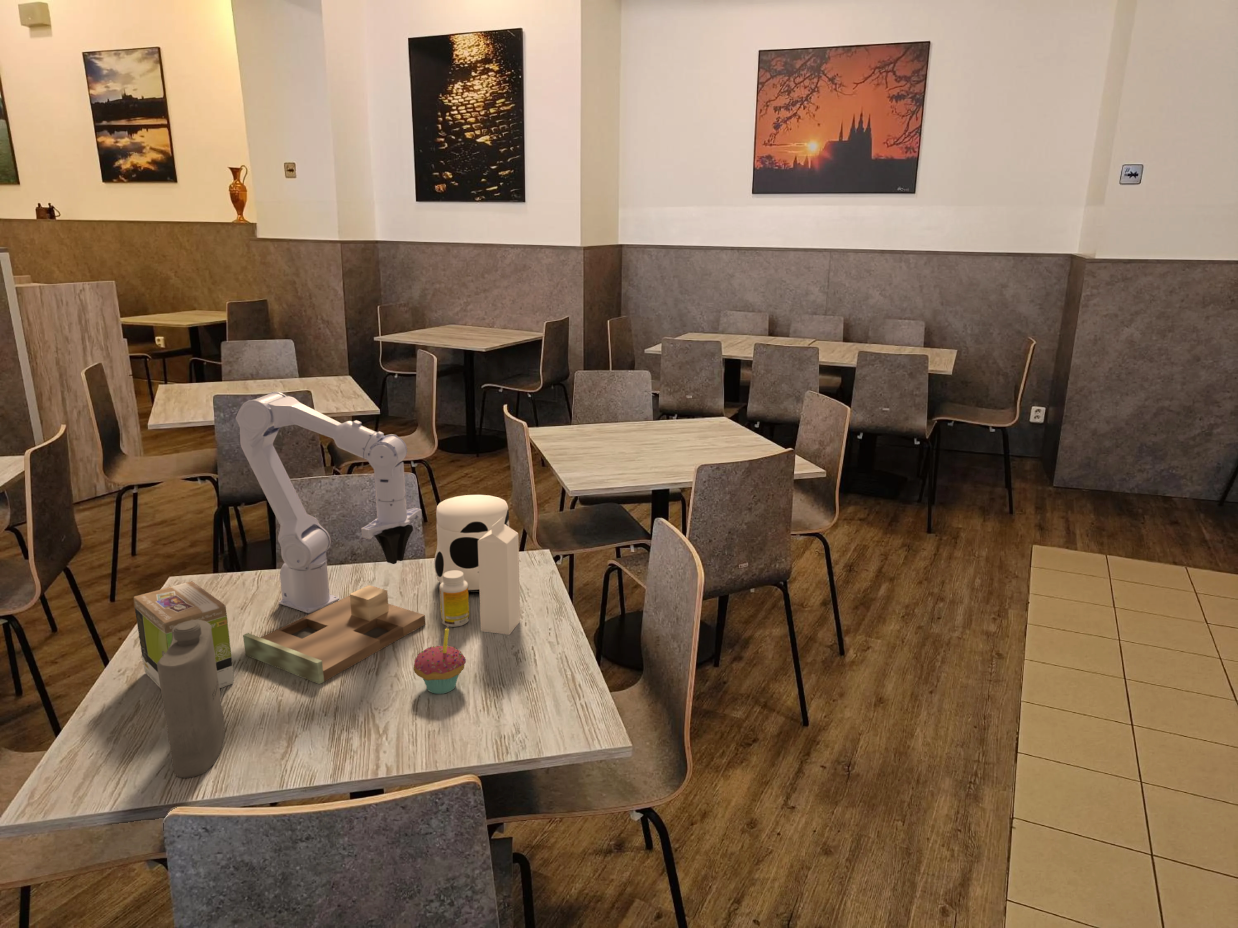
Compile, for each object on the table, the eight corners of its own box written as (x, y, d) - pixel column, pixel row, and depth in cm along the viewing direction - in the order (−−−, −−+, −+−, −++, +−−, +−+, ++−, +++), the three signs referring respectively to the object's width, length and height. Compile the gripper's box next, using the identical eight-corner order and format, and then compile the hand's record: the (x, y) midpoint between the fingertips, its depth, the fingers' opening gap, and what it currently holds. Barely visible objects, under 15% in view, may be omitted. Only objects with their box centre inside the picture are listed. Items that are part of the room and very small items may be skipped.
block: (351, 615, 159) (349, 594, 158) (370, 605, 163) (368, 584, 162) (369, 621, 157) (368, 599, 155) (388, 611, 161) (387, 590, 160)
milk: (480, 631, 157) (475, 525, 151) (492, 617, 163) (488, 514, 157) (510, 635, 156) (506, 527, 150) (521, 621, 162) (518, 517, 156)
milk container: (450, 564, 189) (447, 491, 184) (522, 569, 187) (521, 495, 182) (423, 595, 173) (419, 516, 168) (502, 601, 170) (500, 520, 166)
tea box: (237, 683, 138) (227, 603, 134) (174, 706, 131) (162, 623, 127) (203, 652, 148) (192, 578, 144) (142, 673, 141) (129, 595, 137)
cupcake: (475, 679, 140) (472, 616, 137) (449, 704, 133) (446, 638, 129) (432, 670, 143) (428, 608, 140) (404, 694, 135) (400, 629, 132)
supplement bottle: (474, 622, 161) (472, 575, 158) (449, 630, 158) (447, 582, 155) (461, 612, 165) (459, 566, 162) (436, 620, 162) (433, 573, 159)
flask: (216, 773, 115) (198, 647, 110) (170, 781, 113) (150, 653, 108) (230, 716, 129) (215, 601, 123) (189, 722, 127) (172, 606, 122)
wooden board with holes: (245, 654, 148) (243, 634, 146) (355, 601, 169) (353, 584, 168) (319, 684, 138) (317, 663, 137) (425, 624, 160) (424, 605, 159)
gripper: (378, 510, 152) (382, 577, 156) (431, 491, 164) (434, 553, 168) (351, 504, 156) (356, 570, 159) (405, 485, 168) (409, 546, 171)
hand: (395, 561), depth 164 cm, fingers closed
